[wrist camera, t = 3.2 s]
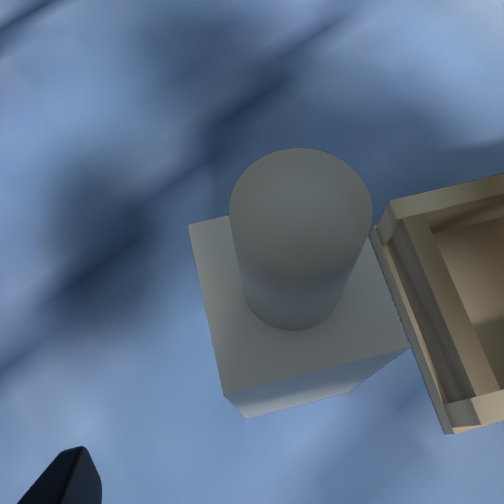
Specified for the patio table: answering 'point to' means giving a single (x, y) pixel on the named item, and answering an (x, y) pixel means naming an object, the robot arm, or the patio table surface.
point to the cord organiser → (451, 294)
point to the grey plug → (295, 284)
